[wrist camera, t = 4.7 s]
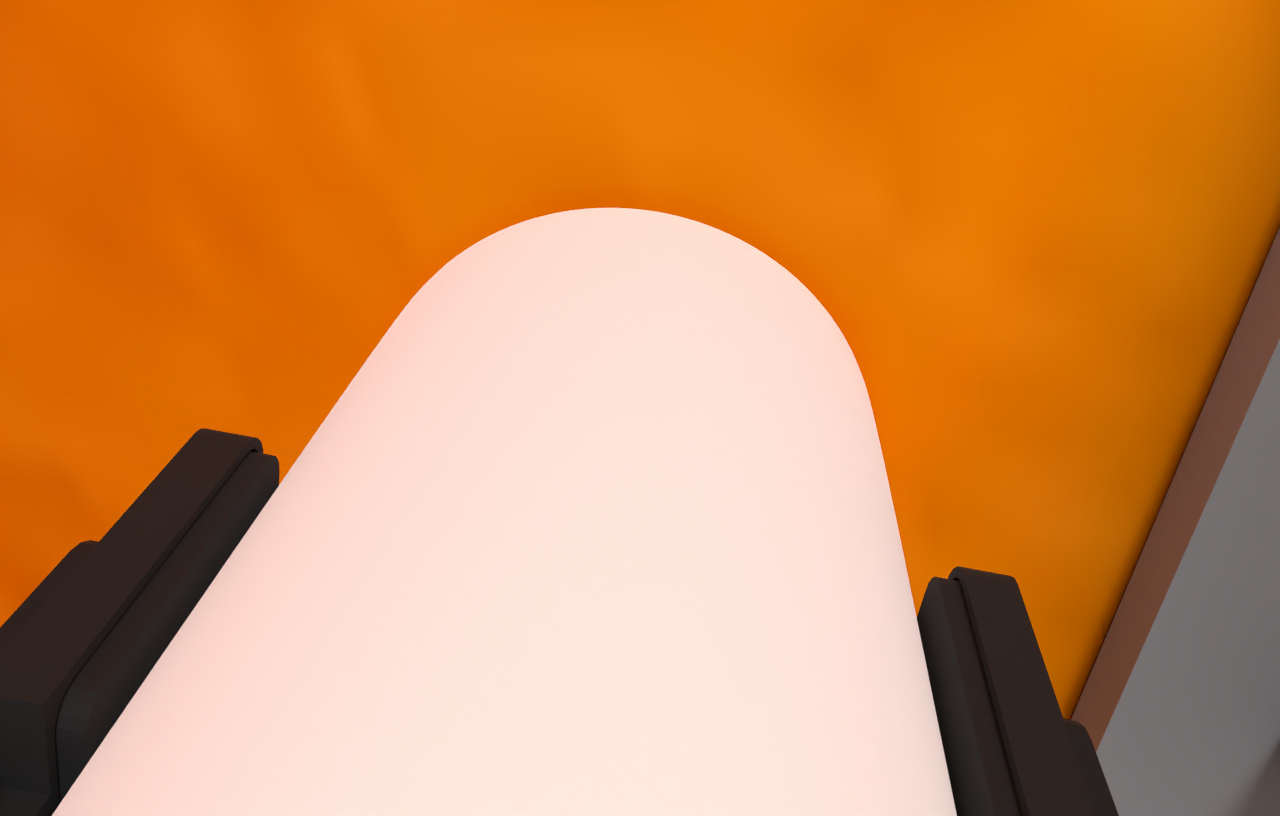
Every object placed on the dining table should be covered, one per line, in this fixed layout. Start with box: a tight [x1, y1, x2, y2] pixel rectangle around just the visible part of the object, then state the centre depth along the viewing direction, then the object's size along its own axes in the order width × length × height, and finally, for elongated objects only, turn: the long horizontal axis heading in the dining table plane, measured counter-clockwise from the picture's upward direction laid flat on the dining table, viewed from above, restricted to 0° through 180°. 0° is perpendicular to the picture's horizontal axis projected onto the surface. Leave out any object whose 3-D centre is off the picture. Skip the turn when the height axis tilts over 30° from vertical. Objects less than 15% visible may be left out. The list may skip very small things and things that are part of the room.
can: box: [52, 208, 957, 816], centre depth 10 cm, size 6×6×12 cm
